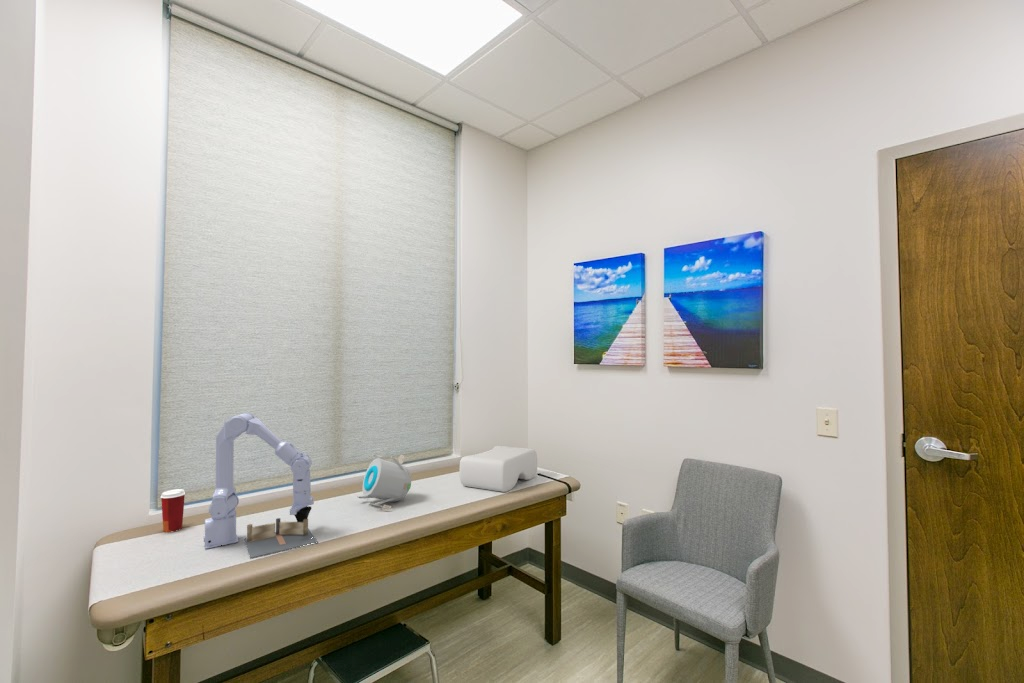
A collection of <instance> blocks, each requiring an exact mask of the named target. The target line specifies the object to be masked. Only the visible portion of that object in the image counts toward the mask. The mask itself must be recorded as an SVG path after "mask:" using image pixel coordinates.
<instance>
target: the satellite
mask: <svg viewBox="0 0 1024 683" xmlns="http://www.w3.org/2000/svg"><path fill="white" fill-rule="evenodd" d="M368 454H370V455H373V456H374V457H375V459H373V460H372V461H371V462H370V463H369V465H368V467H367V469H366V471H365V474H364V477H363V480H362V488H361V489H362V494H363V495H361V496H358V498H359V499H366V500H368V499H376V500H377V499H378V500H381V501H378V502H375V503H373V502H372V503H370V504H371V505H373V506H374V507H376V506H378V507H381V508H382V509H381V510H382V511H386V512H389V511H391V509H392V505H388V504H387V505H386V504H384V503H388V502H390V503H395V502H399V501H401V500H403V499H404V498H405V496H406V495H407V494H408V493H409V491H410V489H411V486H412V475H411V472H410V470H409V468H408V467H406V466H404V465H403V463H404V462H405V455H404V454H400V455H399V457H395V456H394V455H393V456H390V455H389V458H391V459H392V461H393V462H392V461H390V460H385V459H386V458H387V457H385V456H382V455H378V454H376V453H373V452H368ZM384 458H385V459H384ZM382 504H383V506H382Z"/></svg>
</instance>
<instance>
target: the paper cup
mask: <svg viewBox="0 0 1024 683" xmlns="http://www.w3.org/2000/svg"><path fill="white" fill-rule="evenodd" d="M185 495H186V491H185V489H183V488H182V489H181V488H179V489H178V488H177V489H171V490H165V491H164V492H163V491H162V493H161V496H159V498H160V500H161V514H162V516H161V518H162V529H163V532H164V533H172V532H171V531H174V532H177V531H176V530H178V531H179V529H180V530H181V528H183V522H184V512H185V511H184V508H185Z"/></svg>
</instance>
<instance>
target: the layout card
mask: <svg viewBox="0 0 1024 683" xmlns="http://www.w3.org/2000/svg"><path fill="white" fill-rule="evenodd" d="M312 537H313V538H312ZM314 537H315V536H314V533H312V531H311V530H310V528H309V527H308V534H306V535H303V534H278V535H277V534H276V531H275V536H272V537H267V538H263V539H258V540H253V541H250V542H247V537H246V538H244V541H245V542H244V543H245V545H247V546H246V548H248V549H247V552H248V555H250V556H249V558H250V560H251V558H252V559H255V558H254V557H256V558H259V557H258V556H260V557H264V556H268V554H269V555H272V554H271V553H273V554H277V553H281V552H280V551H282V552H286V551H290V550H293V549H292V548H295V549H297V548H296V547H299V548H301V547H300V546H303V545H307V544H311V543H316V542H318V543H319V541H318V540H317V539H316V537H315V538H314ZM311 538H312V539H311ZM316 544H317V543H316ZM303 547H304V546H303ZM289 549H290V550H289ZM285 550H286V551H285ZM276 552H277V553H276ZM263 555H264V556H263Z"/></svg>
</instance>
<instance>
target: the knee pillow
mask: <svg viewBox="0 0 1024 683" xmlns="http://www.w3.org/2000/svg"><path fill="white" fill-rule="evenodd" d="M458 471H459V481H460V484H461V485H462V486H465V487H467V488H468V487H469V488H473V489H482V490H487V491H492V492H493V491H494V492H495V491H496V492H500V493H501V492H502V493H506V492H510V491H511V490H513V488H515V486H516V484H517V482H518V480H523V481H530V480H533V479H534V478H535V477H536V475H537V473H538V453H537V451H536V449H533V448H526V447H515V446H514V447H513V446H505V445H504V446H503V445H495V446H494V447H493V448H492V449H490V450H486V451H483V452H480V453H476V454H471V455H465V456H463V457H461V459H460V461H459V470H458Z"/></svg>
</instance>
